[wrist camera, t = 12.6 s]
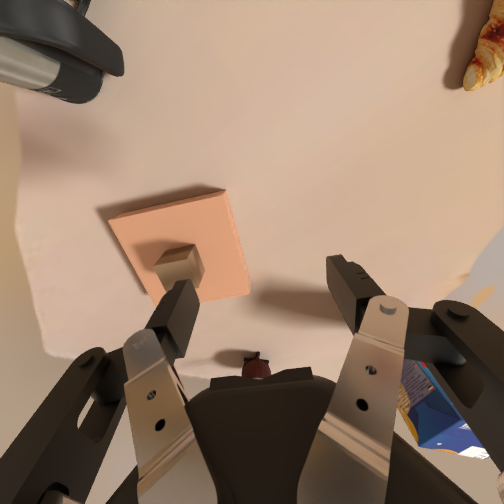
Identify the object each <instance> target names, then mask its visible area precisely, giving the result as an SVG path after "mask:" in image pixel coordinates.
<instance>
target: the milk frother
mask: <svg viewBox="0 0 504 504" xmlns="http://www.w3.org/2000/svg"><path fill="white" fill-rule="evenodd" d="M90 1H91V0H80V3H79V5H78V8H77V10H76V9H75V8H73V7H72V6H71V5H69V4H68V3H67V2H65V1H63V0H0V82H3V83H7V84H11V85H15V86H19V87H23V88H27V89H30V90H34V91H37V92H42V93H46V94H50V95H51V96H54V97H57V98H60V99H61V100H64V101H66V102H70V103H75V104H83V103H87V102H89V101H91V100H92V99H94V98H95V97H96V96H97V95H98V93H99V91H100V89H101V86H102V82H103V71H105V72H107V73H109V74H111V75H113V76H116V77H118V76H123V75H124V61H123V55H122V51H121V49H120V47H119V46H118V45H117V44H116V43H114V42H113V41H112V40H111V39H110V38H108V37H107V36H106V35H105V34H104V33H103V32H102V31H101V30H99V29H98V28H97V27H96V26H95V25H93V24H92V23H91V22H90V21H89V20H88V19H87V18H85V15H86V12H87V10H88V7H89V4H90Z"/></svg>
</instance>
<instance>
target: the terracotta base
mask: <svg viewBox="0 0 504 504" xmlns="http://www.w3.org/2000/svg"><path fill="white" fill-rule="evenodd" d="M108 222H109V224H110V226H111V228H112V229H113V231H114V233H115V235H116V237H117V238H118V240H119V242H120V244H121V246H122V247H123V249H124V251H125V253H126V255H127V256H128V258H129V260H130V262H131V264H132V265H133V267H134V269H135V271H136V273H137V275H138V276H139V278H140V280H141V282H142V284H143V285H144V287H145V289H146V291H147V293H148V294H149V296H150V298H151V300H152V302H153V303H154V305H155V307H157V305H158V304H159V302H160V300H161V298H162V297H163V296H164V295H165V294H166V291H165V289H164V287H163V285H162V283H161V281H160V279H159V277H158V276H157V274H156V272H155V270H154V268H153V265H154V264H155V263H156V262H157V260H158V259H159V258H160V257H161V256H162V254H163V253H164V252H165V251H166V250H170V249H174V248H179V247H184V246H189V245H194V244H195V245H196V247H197V250H198V253H199V255H200V258H201V260H202V263H203V266H204V268H205V272H204V275H203V278H202V280H201V283H200V285H199V288H196V289H195V290H196V293H197V295H198V298H199V302H206V301H212V300H218V299H223V298H229V297H235V296H240V295H246V294H250V278H249V275H248V271H247V267H246V263H245V259H244V256H243V252H242V248H241V244H240V241H239V237H238V233H237V229H236V226H235V222H234V218H233V214H232V210H231V207H230V203H229V199H228V195H227V192H226V190H223V191H219V192H214V193H210V194H206V195H201V196H197V197H192V198H188V199H183V200H179V201H174V202H170V203H166V204H161V205H157V206H152V207H148V208H143V209H139V210H134V211H130V212H126V213H122V214H120V215H118V216H116V217H114V218H112V219H110V220H108Z"/></svg>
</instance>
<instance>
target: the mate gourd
mask: <svg viewBox="0 0 504 504" xmlns="http://www.w3.org/2000/svg"><path fill="white" fill-rule="evenodd" d="M259 355H260V352H257V353H256V356H255V358H254V359H252V358H244V361H245V363H244V365H243V369H242V377H247V378H253V379H263V378H265V377H268V376H270V375H271V371H270V368H269V365H268V363H269V360H263V359H259Z"/></svg>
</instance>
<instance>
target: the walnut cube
mask: <svg viewBox="0 0 504 504" xmlns="http://www.w3.org/2000/svg"><path fill="white" fill-rule="evenodd" d="M153 268H154V270H155V272H156V274H157V276H158V277H159V279H160V281H161V283H162V285H163V287H164V289H165V291H166V293H167V292H168V291H169V290H172V288H173V286H174V284H175V282H176V281H177V280H183V279H191V281H192V283H193V285H194V288H195V289H196V288H199V285H200V283H201V280H202V278H203V275H204V272H205V268H204V266H203V263H202V260H201V258H200V255H199V253H198V250H197V247H196V245H195V244H194V245H189V246H184V247H179V248H174V249H170V250H166V251H165V252H164V253H163V254H162V256H161V257H160V258H159V259H158V260H157V262H156V263H155V264H154V265H153Z"/></svg>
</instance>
